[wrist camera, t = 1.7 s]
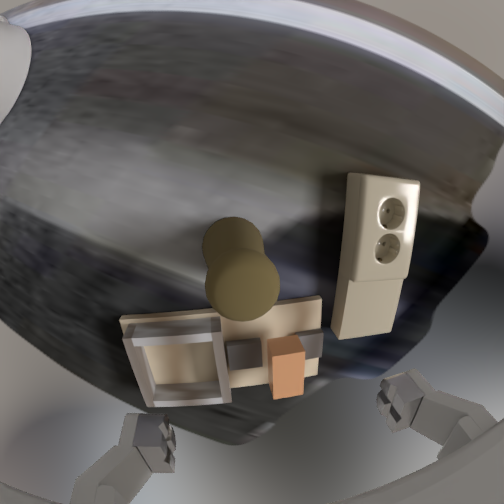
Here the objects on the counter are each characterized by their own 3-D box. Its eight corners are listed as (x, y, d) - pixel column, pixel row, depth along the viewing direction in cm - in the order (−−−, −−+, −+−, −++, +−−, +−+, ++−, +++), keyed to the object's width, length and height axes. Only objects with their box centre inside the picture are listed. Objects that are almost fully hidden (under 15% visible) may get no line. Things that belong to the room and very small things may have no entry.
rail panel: (145, 387, 34) (140, 409, 30) (121, 315, 30) (112, 334, 26) (314, 369, 36) (324, 389, 32) (319, 295, 32) (332, 312, 29)
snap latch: (268, 381, 31) (273, 399, 28) (266, 339, 29) (272, 356, 27) (296, 376, 32) (303, 394, 29) (297, 334, 30) (305, 351, 27)
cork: (214, 207, 28) (216, 237, 18) (272, 229, 29) (306, 268, 19) (193, 264, 30) (186, 321, 19) (249, 282, 31) (269, 344, 21)
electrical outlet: (341, 344, 31) (364, 174, 25) (329, 325, 34) (346, 171, 29) (394, 335, 32) (422, 181, 26) (378, 319, 35) (400, 177, 30)
